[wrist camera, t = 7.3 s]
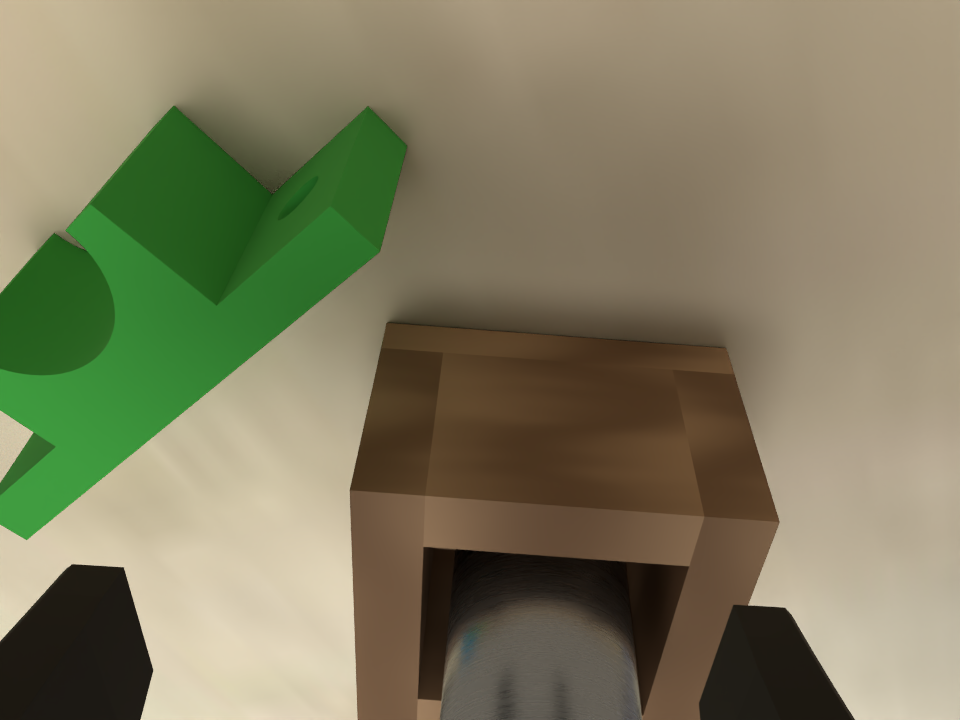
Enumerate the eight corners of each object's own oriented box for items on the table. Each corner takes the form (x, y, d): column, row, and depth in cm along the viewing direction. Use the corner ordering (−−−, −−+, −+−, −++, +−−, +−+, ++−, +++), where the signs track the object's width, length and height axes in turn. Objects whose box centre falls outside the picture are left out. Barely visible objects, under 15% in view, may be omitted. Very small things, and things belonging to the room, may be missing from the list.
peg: (623, 438, 21) (660, 756, 15) (612, 551, 24) (642, 866, 17) (457, 437, 22) (425, 750, 15) (463, 548, 24) (438, 859, 18)
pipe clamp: (271, -1, 17) (203, 83, 13) (409, 141, 19) (383, 250, 15) (-29, 320, 22) (-141, 448, 18) (102, 410, 23) (24, 545, 20)
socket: (726, 348, 21) (779, 522, 17) (663, 571, 26) (691, 752, 21) (386, 322, 21) (349, 490, 17) (386, 551, 26) (358, 728, 21)
